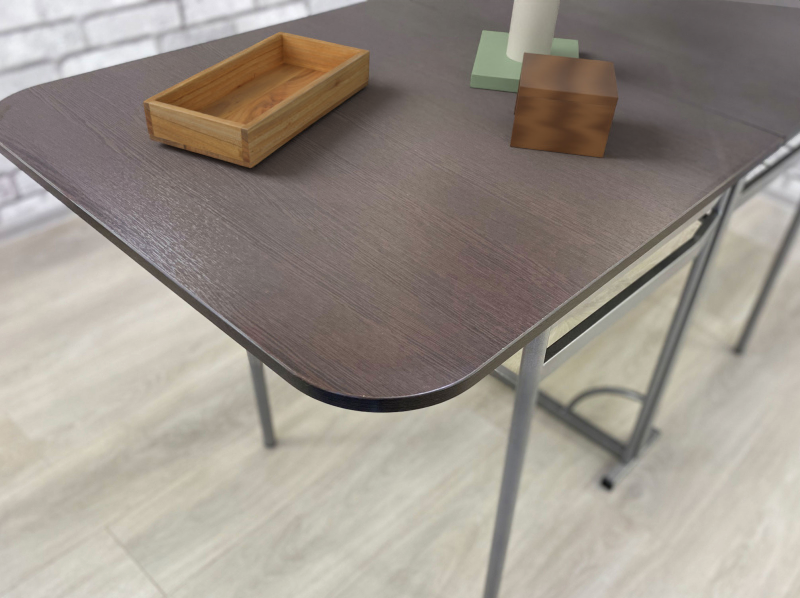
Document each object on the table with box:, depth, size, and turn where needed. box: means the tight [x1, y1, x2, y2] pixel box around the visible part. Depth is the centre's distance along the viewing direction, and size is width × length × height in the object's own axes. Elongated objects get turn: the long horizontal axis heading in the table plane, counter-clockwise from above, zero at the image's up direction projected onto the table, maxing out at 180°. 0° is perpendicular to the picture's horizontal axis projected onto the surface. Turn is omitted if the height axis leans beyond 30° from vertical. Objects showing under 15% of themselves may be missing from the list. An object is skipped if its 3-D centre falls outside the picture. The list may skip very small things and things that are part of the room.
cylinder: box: [506, 0, 561, 63], centre depth 107 cm, size 7×7×16 cm
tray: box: [142, 31, 371, 169], centre depth 96 cm, size 31×15×6 cm, turn 154°
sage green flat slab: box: [469, 29, 580, 94], centre depth 113 cm, size 16×20×2 cm
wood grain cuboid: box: [509, 52, 619, 158], centre depth 95 cm, size 12×12×8 cm
